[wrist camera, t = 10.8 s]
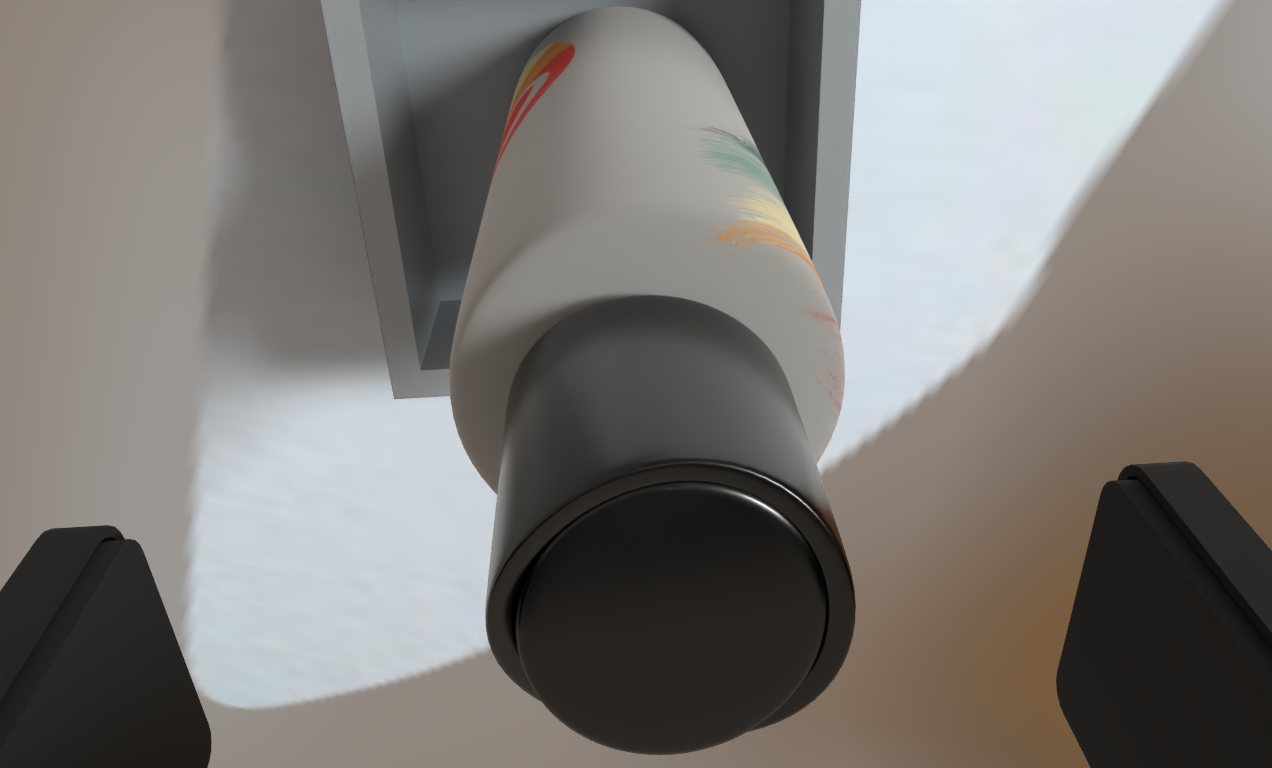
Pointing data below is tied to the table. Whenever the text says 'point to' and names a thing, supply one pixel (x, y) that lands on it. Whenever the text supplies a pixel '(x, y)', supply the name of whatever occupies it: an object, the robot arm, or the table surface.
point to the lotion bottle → (650, 402)
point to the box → (477, 114)
